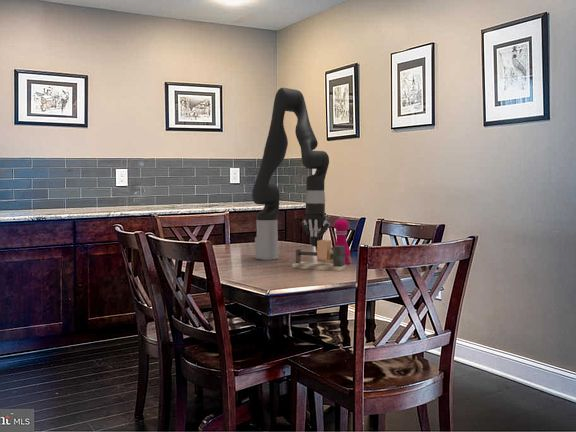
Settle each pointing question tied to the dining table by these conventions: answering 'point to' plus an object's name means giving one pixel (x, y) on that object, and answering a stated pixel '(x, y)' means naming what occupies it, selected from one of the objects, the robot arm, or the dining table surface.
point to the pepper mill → (342, 235)
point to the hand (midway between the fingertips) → (315, 246)
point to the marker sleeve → (323, 249)
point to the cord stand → (337, 265)
